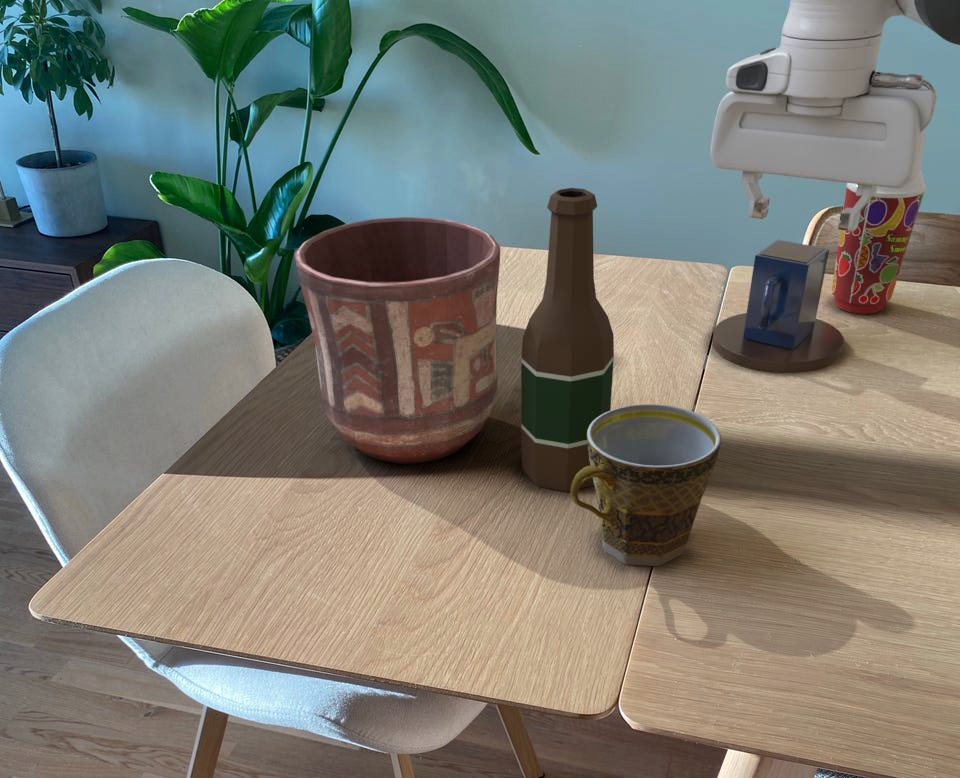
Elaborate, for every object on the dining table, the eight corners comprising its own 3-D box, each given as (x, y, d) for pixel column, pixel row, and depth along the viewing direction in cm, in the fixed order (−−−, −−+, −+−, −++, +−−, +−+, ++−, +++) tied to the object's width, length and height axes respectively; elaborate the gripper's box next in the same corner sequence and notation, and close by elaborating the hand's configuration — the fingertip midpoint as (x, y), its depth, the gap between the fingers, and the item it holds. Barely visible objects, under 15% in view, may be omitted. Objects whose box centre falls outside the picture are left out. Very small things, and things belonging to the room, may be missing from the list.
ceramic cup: (644, 498, 85) (654, 391, 79) (731, 548, 79) (749, 437, 72) (528, 552, 79) (529, 441, 73) (612, 611, 73) (620, 496, 67)
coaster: (859, 336, 110) (861, 326, 109) (815, 383, 101) (817, 372, 100) (742, 312, 116) (743, 302, 115) (691, 354, 107) (692, 344, 107)
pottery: (309, 484, 88) (276, 287, 77) (332, 397, 102) (308, 217, 90) (503, 480, 88) (501, 281, 76) (502, 393, 101) (499, 212, 90)
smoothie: (886, 323, 112) (933, 133, 99) (814, 311, 116) (850, 125, 103) (902, 299, 118) (948, 115, 105) (832, 288, 121) (869, 108, 108)
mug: (764, 320, 111) (777, 238, 105) (813, 331, 108) (829, 247, 102) (732, 346, 106) (744, 261, 100) (783, 358, 103) (798, 272, 97)
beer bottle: (560, 442, 93) (567, 172, 78) (624, 469, 89) (645, 190, 73) (503, 472, 89) (499, 194, 74) (567, 503, 85) (578, 214, 69)
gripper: (950, 69, 88) (914, 227, 97) (737, 57, 98) (722, 202, 106) (931, 82, 84) (896, 246, 93) (711, 68, 94) (697, 218, 102)
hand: (801, 223), depth 100 cm, fingers open, 8 cm apart
